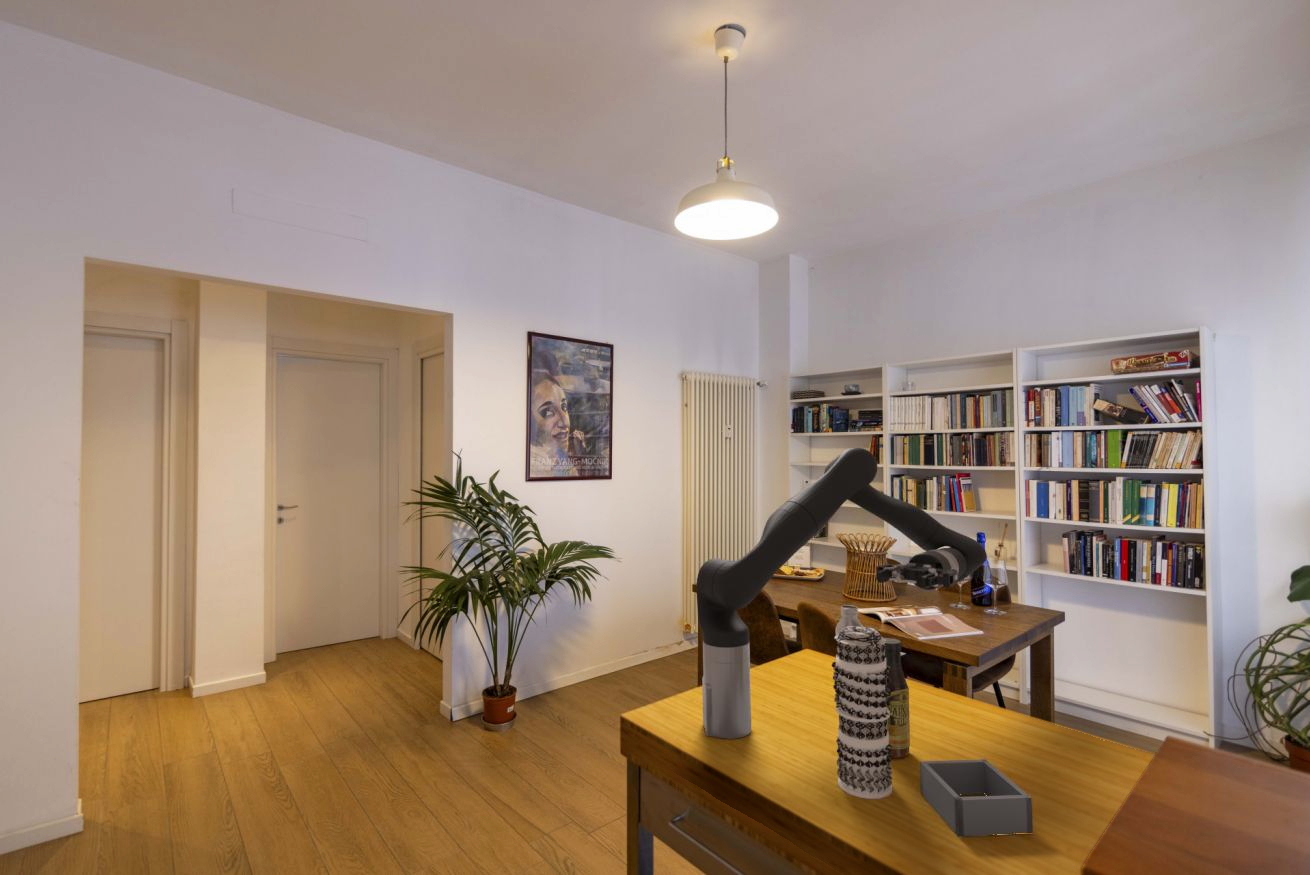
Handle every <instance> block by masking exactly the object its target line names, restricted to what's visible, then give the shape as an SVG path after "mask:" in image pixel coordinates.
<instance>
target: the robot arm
mask: <svg viewBox="0 0 1310 875" xmlns="http://www.w3.org/2000/svg"><path fill="white" fill-rule="evenodd" d="M823 473H824V474H822V476H820V477H819V478H818V479H817V480H815V481H813V482H811V483H810V484H809V485H807V486H805V487H804V488H803V489H800V491H798V492H797V493H796V494H794V495H793V496H791V497H790V498H789V499H788V500H786V501H785V502H784V503H783V504H781V506H779V507H778V508H777V509H776V510H775V511H774V512H773V513H771V514H770V515H769V517H768V519H767V521H766V522H765V524H764V525H765V526H764V527H763V530H762V535H761V537H760V540H759V542H757V544H756V545H755V546H754V547H753V548H752V549H750V551H748V552H747V553H746V554H744V555H743V556H742V557H741V558H739V559H737V560H735V561H734V560H729V559H725V558H724V559H723V558H719V557H718V558H716V557H715V558H711V559H709V560H707V561H705V562H704V563H703V564H702V565H701V566H700V568H699V570H698V574H697V576H696V577H697V578H696V606H697V619H698V625H699V629H700V630H701V632H702V651H703V652H702V661H703V666H702V668H703V676H702V678H701V679H702V681H701V682H702V687H701V688H702V724H703V727H704V728H705V729H704V732H705V736H707V737H715V738H720V739H730V740H731V739H739V738H743V737H746V736H748V735H749V734H750V733H751V732H752V702H751V692H752V691H751V657H750V656H751V654H750V653H751V651H750V647H751V646H750V630H749V627H748V626H747V625H746V623H745V622H744V621H743V620H742V619H741V617H740V616H739V614H738V611H737V610H741V609H743V608H746V607H747V606H748V605H749V604H751V602H752V601H753V600H754V599H756V597H757V596H758V594H760V592H761V591H762V590H763V588H765V586H766V585H767V584H768V582H769V581H770V580H771V578H773V577H774V575H775V574H776V573H777V572H778V571H779V570H780V569H781V568H782V567H783V566H784V565H785V564H786V563H787V562H788V561H789V560H790V559H791V558H792V557H794V555H795V554H796V553H797V552H798V551H799V550H800V549H801V548H803V547H804V546H805V545H806V544H807V543H808V542H809V541H810V540H812V538H814V537H815V536H816V535H817V533H819V531H820V530H821V529H822V528H823V527H824V526H825V525H826V524H827V523H828V521H830V520H831V519H832V517H834V515H835V514H836V513H837V511H838V510H839V509H840V508H841V506H842V505H844V503H846V501H849V502H850V503H852V504H855V505H856V506H858V507H860V508H862V509H863V510H865V511H867V512H868V513H870V514H872V515H874V516H876V517H877V518H879V519H881V520H883V521H884V522H885V523H887V524H888V525H890V526H891V527H893V528H894V529H896V530H897V531H898V532H900V533H901V534H902V535H904V536H905V537H906V538H908V540H910V541H911V542H913V543H914V544H916V545H917V546H918V547H919V548H921V549H922V550H923V552H920V553H917V554H916V553H915V555H913V556H912V557H911V558H910V559H909V561H908V562H907V563H905V564H904V563H902V564H901V563H900V564H895V563H892V562H889V563H886V564H882V565H877V566H876V581H877V583H880V584H883V583H886V582H890V581H891V582H892V581H894V582H895V583H899V584H902V583H903V584H904V583H909V584H913V585H914V586H916V587H917V588H918V589H921V590H923V591H933V590H936V589H939V588H941V587H944V588H946V589H947V588H951V587H954V586H955V585H957V584H958V583H960V582H962V581H964V580H965V579H966V578H967V577H969V576H970V575H971V574H973V573H974V572H975V571H976V570H977V569H979V568H980V567H981V566H983V565H984V563H985V562H986V561H987V557H988V553H987V552H986V549H985V548H984V546H983V545H982V544H981V543H980V542H979V541H977V540H975V539H974V538H972V537H970V536H968V535H965V534H962V533H960V532H958V531H956V530H953V529H951V528H949V527H947V526H945V525H943V524H942V523H941V522H939V521H938V520H937V519H935V518H934V517H933V516H931V515H930V514H928V512H926V511H924V509H922V508H920V507H919V506H917V505H914V504H912V503H910V502H907V501H904V500H901V499H899V498H895V497H893V496H890V495H887V494H885V493H883V492H881V491H880V490H879V489H876V488H875V487H874V486H872V485H871V483H872V482H873V481H874V479H876V478H875V477H876V475H877V473H878V462H877V459H876V457H875V455H874V454H873V453H872V452H871V451H870V450H867V449H865V448H864V447H863V448H862V447H852V448H847V449H845V450H843V451H842V452H841V453H839V455H837V456H836V457H835V458H833V459H832V460H831V461H829V463H828V464H827V465H826V466H825V468H824V471H823Z"/></svg>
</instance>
